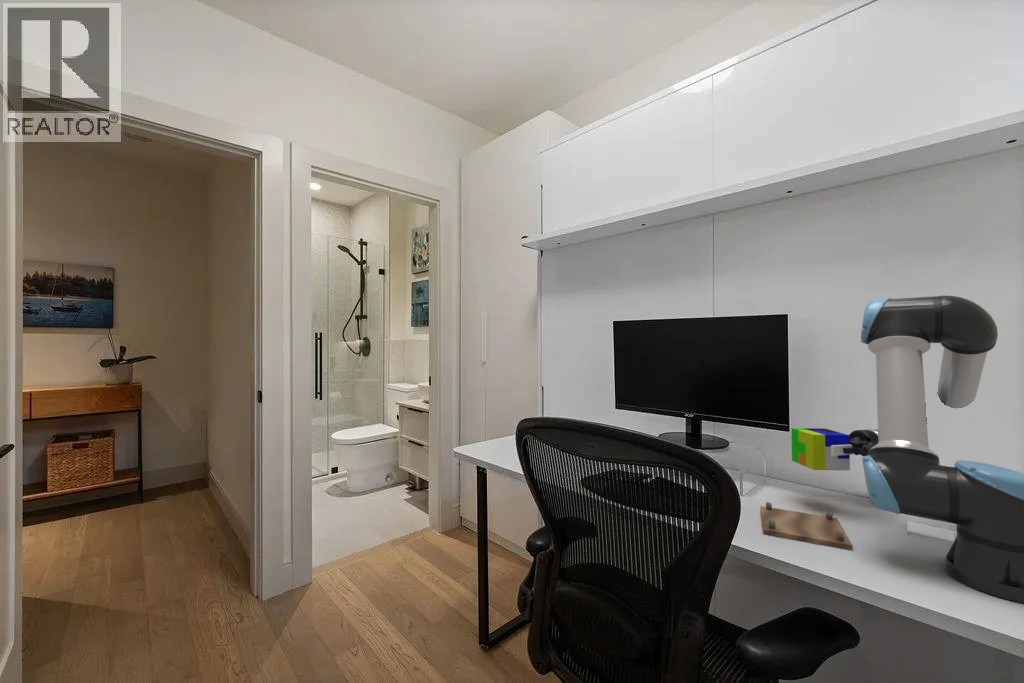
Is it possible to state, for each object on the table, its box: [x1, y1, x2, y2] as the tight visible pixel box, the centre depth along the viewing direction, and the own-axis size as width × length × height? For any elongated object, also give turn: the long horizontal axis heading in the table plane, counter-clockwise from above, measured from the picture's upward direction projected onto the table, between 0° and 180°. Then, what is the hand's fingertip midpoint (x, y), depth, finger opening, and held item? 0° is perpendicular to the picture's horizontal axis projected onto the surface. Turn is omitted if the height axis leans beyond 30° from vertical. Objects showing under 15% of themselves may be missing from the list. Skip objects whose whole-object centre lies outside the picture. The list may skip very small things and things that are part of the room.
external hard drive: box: [906, 520, 957, 545], centre depth 106 cm, size 2×8×12 cm
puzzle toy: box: [791, 427, 851, 472], centre depth 124 cm, size 10×10×10 cm
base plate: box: [760, 501, 854, 551], centre depth 110 cm, size 18×18×3 cm
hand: (811, 445), depth 124 cm, fingers closed on puzzle toy, 12 cm apart
